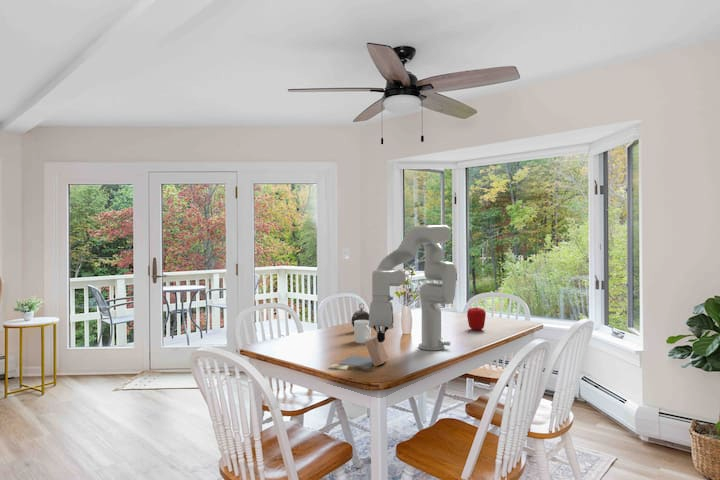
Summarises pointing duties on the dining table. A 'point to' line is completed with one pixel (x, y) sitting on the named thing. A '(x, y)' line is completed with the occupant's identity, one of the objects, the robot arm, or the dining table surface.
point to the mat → (357, 361)
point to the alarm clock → (360, 315)
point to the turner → (350, 367)
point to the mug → (361, 331)
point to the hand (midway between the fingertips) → (381, 341)
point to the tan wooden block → (376, 351)
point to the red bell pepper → (476, 318)
